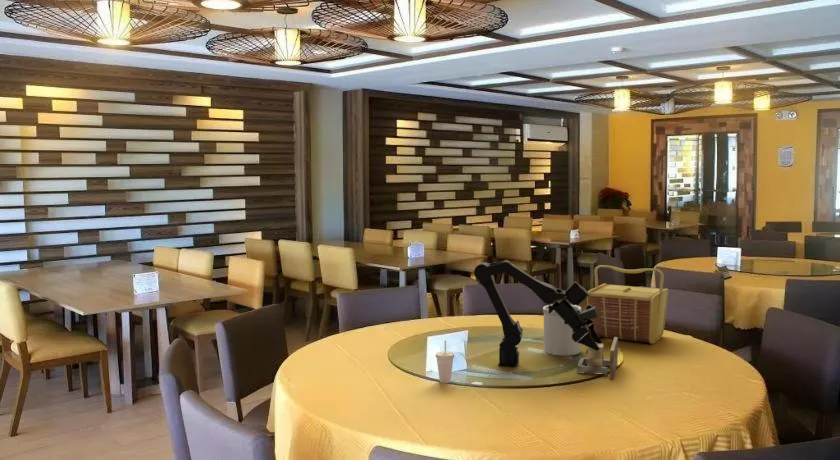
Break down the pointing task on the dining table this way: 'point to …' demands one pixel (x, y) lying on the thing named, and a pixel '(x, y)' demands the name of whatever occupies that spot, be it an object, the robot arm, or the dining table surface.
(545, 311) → the utensil holder
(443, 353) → the smoothie
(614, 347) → the grey frame stand
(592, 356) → the cabinet block
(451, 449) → the dining table surface
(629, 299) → the picnic basket
